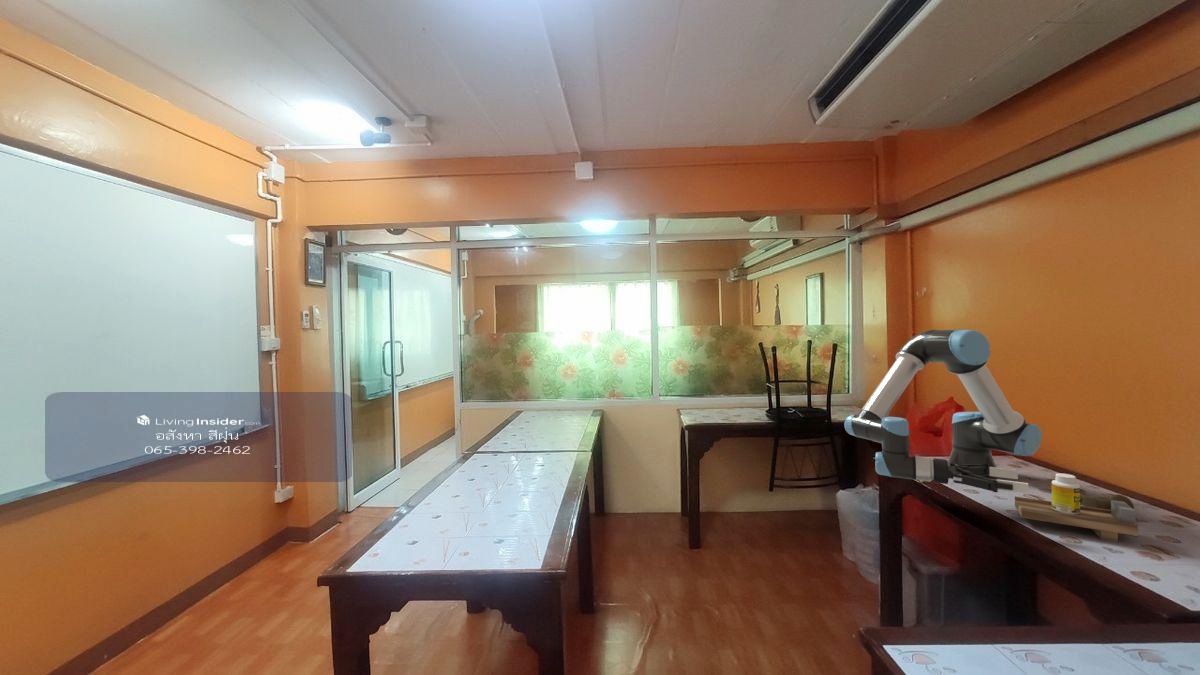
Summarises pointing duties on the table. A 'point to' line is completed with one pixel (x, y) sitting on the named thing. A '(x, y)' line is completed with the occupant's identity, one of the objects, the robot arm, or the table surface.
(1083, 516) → the wooden rack
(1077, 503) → the supplement bottle
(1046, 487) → the table surface
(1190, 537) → the table surface
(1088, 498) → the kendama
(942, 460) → the robot arm
